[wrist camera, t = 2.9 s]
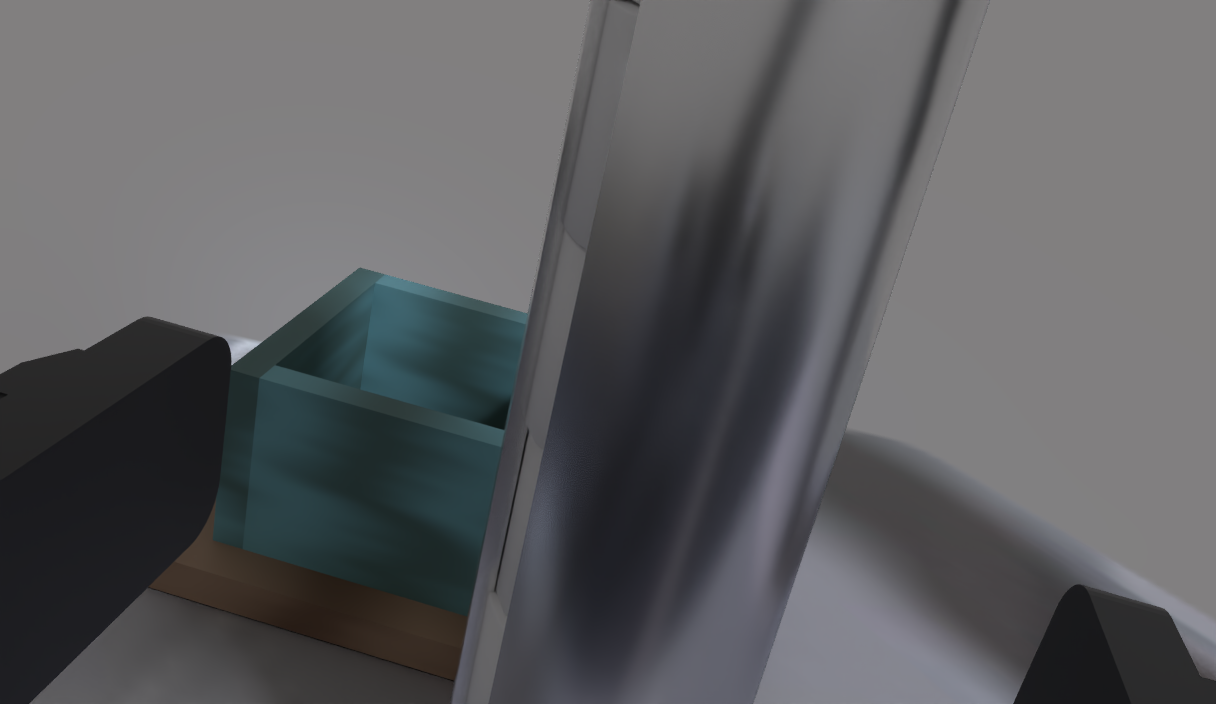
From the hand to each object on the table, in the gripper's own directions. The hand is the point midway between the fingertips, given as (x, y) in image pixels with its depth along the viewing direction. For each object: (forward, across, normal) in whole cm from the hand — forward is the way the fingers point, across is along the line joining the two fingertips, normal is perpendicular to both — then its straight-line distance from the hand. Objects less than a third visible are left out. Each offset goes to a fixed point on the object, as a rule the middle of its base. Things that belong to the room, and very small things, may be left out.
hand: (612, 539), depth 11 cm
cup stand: (+24, +8, +17) cm, 30 cm away
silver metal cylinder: (+12, 0, +17) cm, 21 cm away
